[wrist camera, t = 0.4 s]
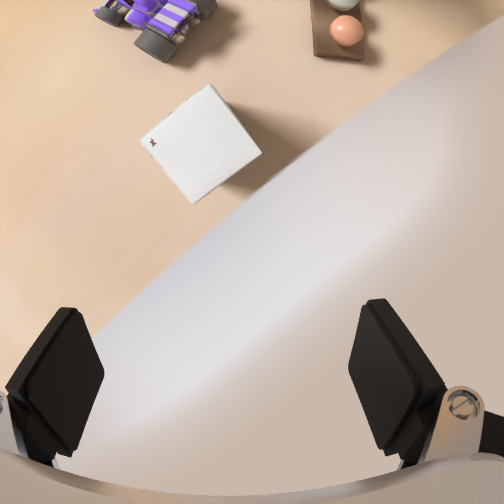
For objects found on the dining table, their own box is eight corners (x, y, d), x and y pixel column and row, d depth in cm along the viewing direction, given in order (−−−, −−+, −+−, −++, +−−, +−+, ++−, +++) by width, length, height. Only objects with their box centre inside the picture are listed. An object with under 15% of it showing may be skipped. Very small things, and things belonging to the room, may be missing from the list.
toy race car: (134, -30, 22) (119, -51, 17) (219, 11, 27) (216, -10, 21) (88, 21, 25) (66, 8, 19) (169, 67, 30) (155, 55, 24)
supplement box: (205, 181, 35) (190, 209, 24) (168, 134, 33) (134, 139, 21) (255, 145, 34) (265, 154, 22) (218, 96, 31) (208, 80, 20)
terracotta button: (327, 18, 25) (332, 13, 23) (356, 22, 25) (362, 18, 23) (329, 44, 27) (334, 40, 25) (358, 48, 27) (365, 44, 25)
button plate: (305, -40, 23) (308, -44, 22) (348, -33, 23) (352, -37, 22) (314, 55, 29) (317, 52, 28) (359, 60, 30) (364, 58, 28)
